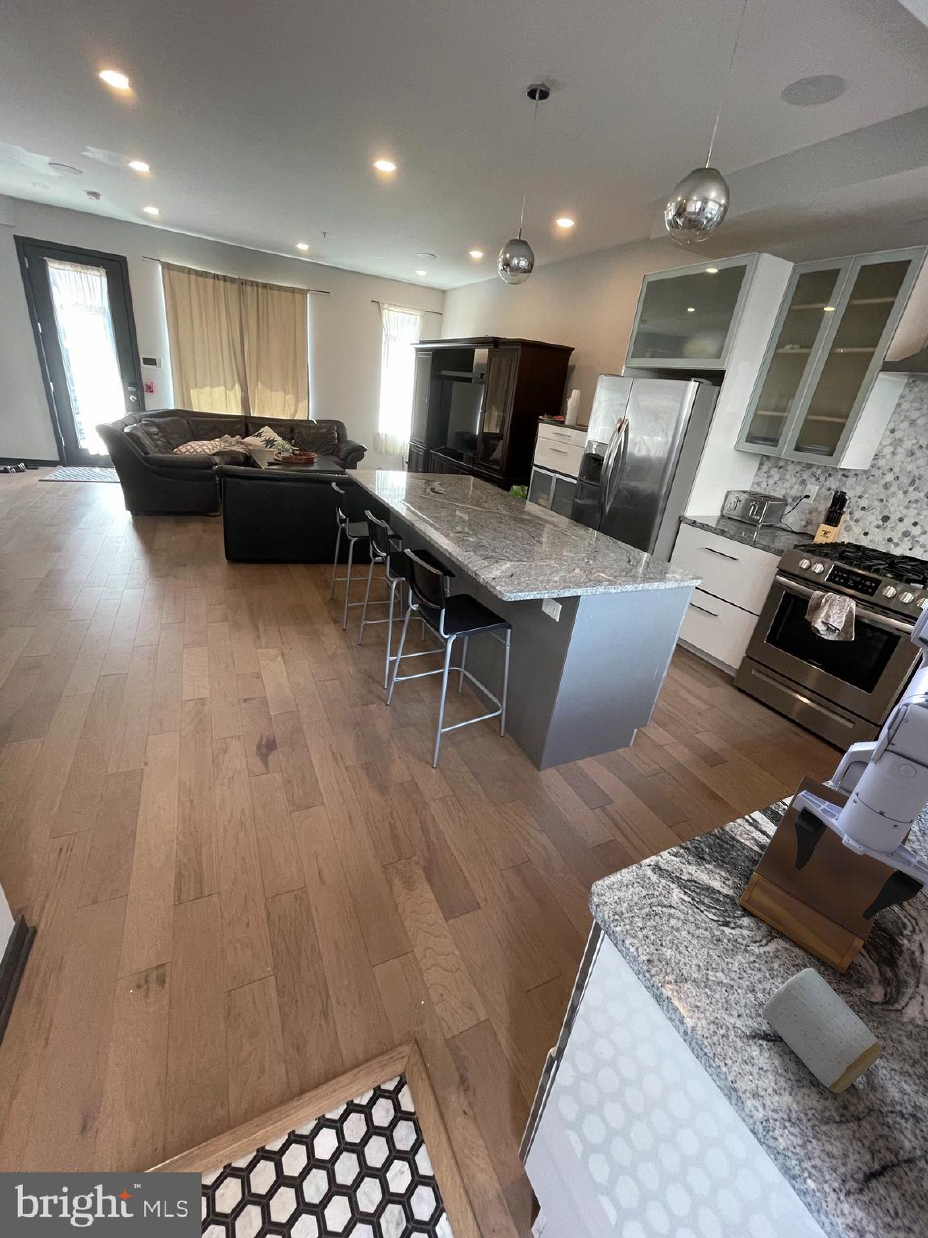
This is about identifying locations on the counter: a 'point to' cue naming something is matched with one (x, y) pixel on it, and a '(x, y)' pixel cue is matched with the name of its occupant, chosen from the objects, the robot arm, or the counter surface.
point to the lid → (825, 868)
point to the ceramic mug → (822, 1030)
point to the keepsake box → (801, 923)
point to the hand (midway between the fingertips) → (832, 889)
